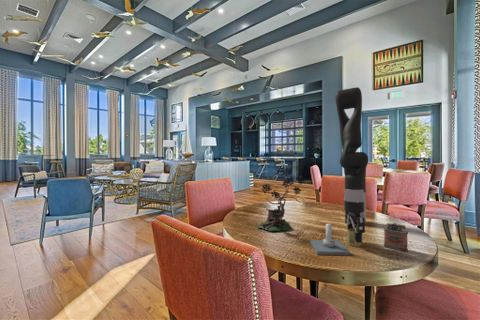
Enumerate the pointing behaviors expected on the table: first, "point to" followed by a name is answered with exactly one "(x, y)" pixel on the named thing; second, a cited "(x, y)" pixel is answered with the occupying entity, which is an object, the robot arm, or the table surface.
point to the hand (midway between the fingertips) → (354, 238)
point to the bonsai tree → (276, 216)
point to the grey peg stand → (329, 245)
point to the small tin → (395, 237)
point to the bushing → (352, 238)
